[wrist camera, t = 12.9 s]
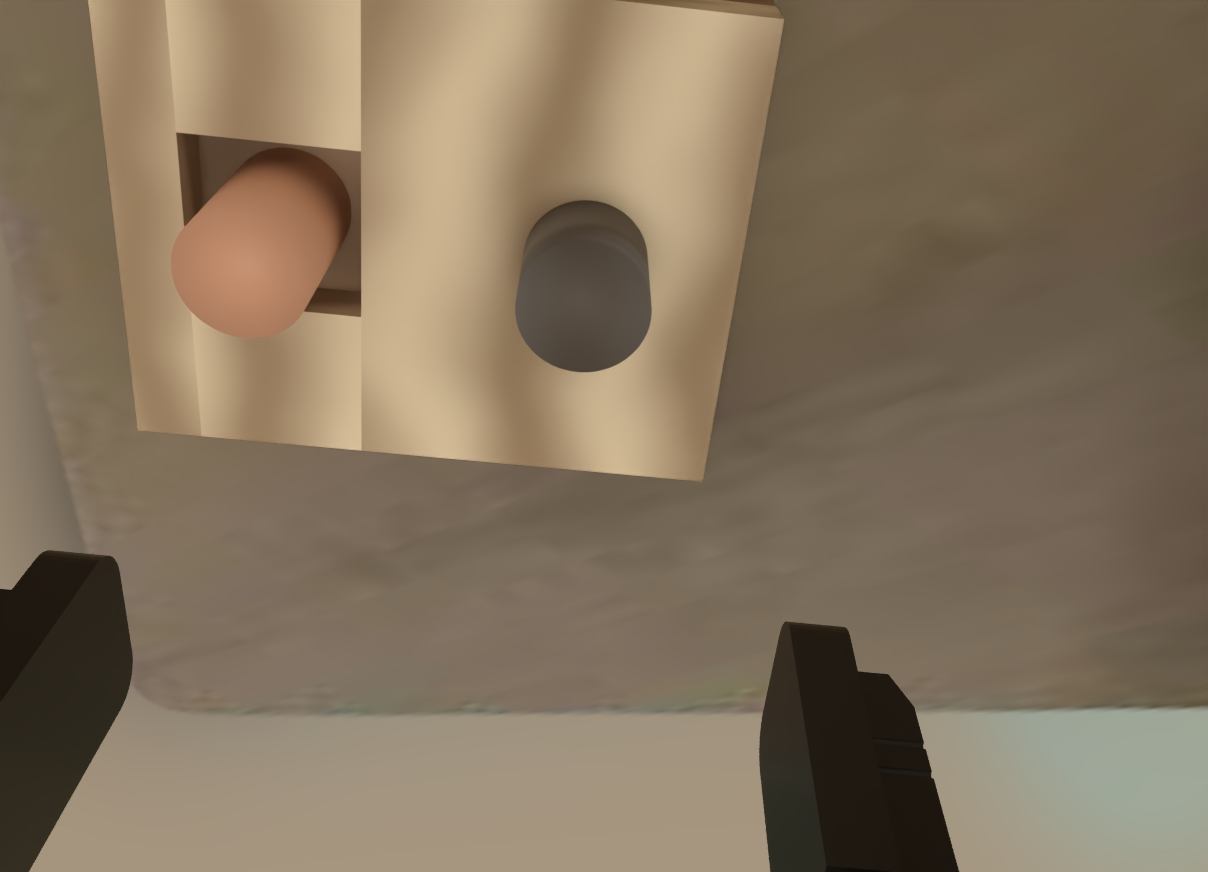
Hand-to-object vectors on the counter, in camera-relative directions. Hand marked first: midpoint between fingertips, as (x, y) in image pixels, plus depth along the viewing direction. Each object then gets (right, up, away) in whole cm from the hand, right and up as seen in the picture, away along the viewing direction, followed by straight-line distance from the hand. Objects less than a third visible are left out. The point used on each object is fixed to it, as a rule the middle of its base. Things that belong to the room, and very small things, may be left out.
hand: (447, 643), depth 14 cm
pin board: (-4, +10, +26) cm, 28 cm away
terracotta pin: (-8, +10, +24) cm, 28 cm away
